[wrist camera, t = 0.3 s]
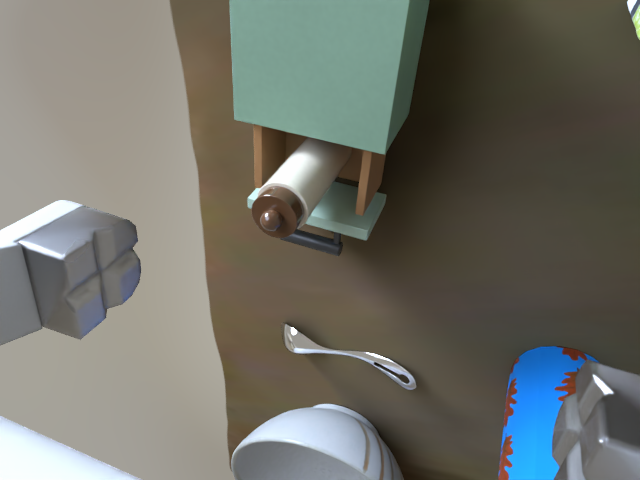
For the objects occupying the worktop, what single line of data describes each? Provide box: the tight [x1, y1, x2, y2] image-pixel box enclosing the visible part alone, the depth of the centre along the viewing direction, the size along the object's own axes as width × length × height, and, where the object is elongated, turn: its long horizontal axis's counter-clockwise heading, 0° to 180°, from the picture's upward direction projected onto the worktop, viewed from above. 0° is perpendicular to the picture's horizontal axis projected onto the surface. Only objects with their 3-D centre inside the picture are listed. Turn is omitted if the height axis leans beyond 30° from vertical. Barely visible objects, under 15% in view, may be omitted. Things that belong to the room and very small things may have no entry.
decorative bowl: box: [231, 404, 404, 480], centre depth 77 cm, size 27×27×12 cm
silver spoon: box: [281, 322, 417, 390], centre depth 69 cm, size 20×4×5 cm
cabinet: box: [230, 0, 429, 155], centre depth 42 cm, size 15×14×9 cm
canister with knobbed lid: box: [251, 137, 352, 238], centre depth 45 cm, size 5×5×14 cm
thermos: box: [498, 346, 599, 480], centre depth 50 cm, size 11×11×25 cm
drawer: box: [248, 124, 387, 256], centre depth 49 cm, size 18×12×7 cm
